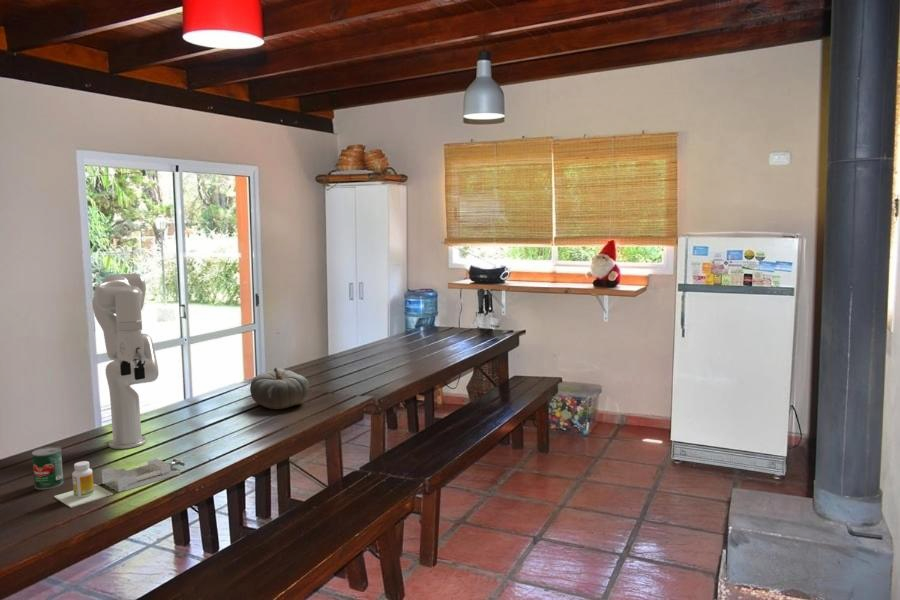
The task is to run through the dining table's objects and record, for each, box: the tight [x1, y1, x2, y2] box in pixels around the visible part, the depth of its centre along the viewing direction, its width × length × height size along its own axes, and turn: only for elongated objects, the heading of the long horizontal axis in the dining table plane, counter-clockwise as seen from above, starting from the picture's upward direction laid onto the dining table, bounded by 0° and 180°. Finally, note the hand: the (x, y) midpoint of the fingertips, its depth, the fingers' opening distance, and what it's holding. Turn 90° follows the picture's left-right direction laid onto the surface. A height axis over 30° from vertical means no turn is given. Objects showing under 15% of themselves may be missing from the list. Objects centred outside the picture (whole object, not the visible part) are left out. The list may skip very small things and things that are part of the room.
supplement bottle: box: [71, 460, 94, 498], centre depth 206 cm, size 5×5×10 cm
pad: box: [53, 483, 114, 508], centre depth 206 cm, size 12×12×1 cm
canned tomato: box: [31, 446, 64, 490], centre depth 215 cm, size 8×8×11 cm
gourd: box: [249, 367, 310, 410], centre depth 304 cm, size 25×25×17 cm
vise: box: [101, 458, 186, 493], centre depth 221 cm, size 12×23×4 cm, turn 140°
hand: (132, 377), depth 229 cm, fingers open, 9 cm apart
